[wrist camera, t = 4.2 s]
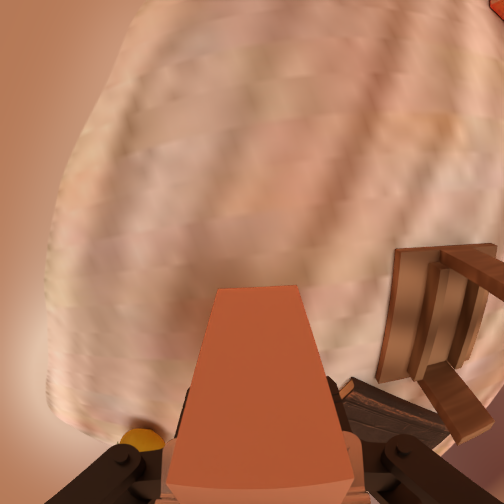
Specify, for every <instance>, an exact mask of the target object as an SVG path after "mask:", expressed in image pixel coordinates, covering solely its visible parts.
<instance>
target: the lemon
mask: <svg viewBox="0 0 504 504" xmlns="http://www.w3.org/2000/svg"><path fill="white" fill-rule="evenodd" d="M117 444H118V443H117ZM120 444H129V445H132V446H134V447H135V448H137V450H138V451H139V452H143V451H152V450H158V449H161V448H164V446H165V445H166V444H165V442H164V441H163V439H162V438H161V437H160V436H159V435H158V434H156V433H155V432H154V431H153V430H151V429H140V428H137V429H132V430H130V431H128V432H127V433H125V435H124V436H123V437H122V439H121V441H120Z"/></svg>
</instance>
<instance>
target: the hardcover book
mask: <svg viewBox="0 0 504 504" xmlns="http://www.w3.org/2000/svg"><path fill="white" fill-rule="evenodd" d="M351 379H352V380H351V381H350V382H349V383H348V384H347V385H346V386H345V387H344V388H343V389H342V390H341V391H340V392H339V395H340V396H341V399H342V402H343V406H344V409H345V412H346V415H347V418H348V421H349V424H350V428H351V430H352V432H353V434H355V435H356V436H357V437H358V438H359V439H361V440H364V441H367V442H379V443H387V442H388V440H389V439H391V438H392V437H394V436H396V435H399V434H409V435H412V436H414V437H416V438H417V439H419V440H420V441H421V442H422V443H424V444H425V445H426V446H427V447H429V448H430V449H431V450H432V449H433V448H435V447H436V446H437V445H438V444H439V443H440V442H442V441H443V440H444V439H445V438H446V437H447V436H448V435H449V434H450V432H449V431H448V429H447V427H446V426H445V424H444V423H443V421H442V419H441V418H440V416H439V415H438V414H437V413H435V412H432V411H430V410H427V409H425V408H422V407H420V406H417V405H415V404H413V403H410V402H408V401H405V400H403V399H401V398H398V397H396V396H394V395H391V394H389V393H387V392H385V391H382V390H380V389H378V388H376V387H374V386H371V385H369V384H367V383H365V382H363V381H361V380H358V379H356V378H354V377H351Z"/></svg>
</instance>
